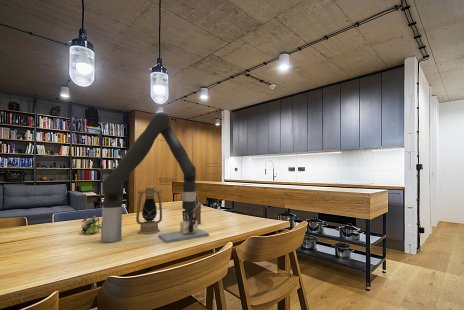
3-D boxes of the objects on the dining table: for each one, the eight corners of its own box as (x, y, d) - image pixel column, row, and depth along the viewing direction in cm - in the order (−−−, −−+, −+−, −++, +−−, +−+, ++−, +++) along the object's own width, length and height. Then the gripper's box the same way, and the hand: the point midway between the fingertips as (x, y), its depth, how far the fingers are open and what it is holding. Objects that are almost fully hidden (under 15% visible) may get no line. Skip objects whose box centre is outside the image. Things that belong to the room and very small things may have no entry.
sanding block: (183, 234, 130) (183, 223, 131) (180, 232, 135) (180, 221, 135) (197, 232, 135) (197, 221, 135) (193, 230, 139) (193, 219, 139)
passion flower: (84, 242, 141) (84, 223, 147) (105, 237, 144) (104, 218, 151) (77, 235, 132) (78, 215, 139) (99, 230, 135) (99, 210, 142)
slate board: (166, 243, 121) (166, 240, 121) (158, 237, 132) (158, 234, 132) (208, 235, 134) (208, 233, 135) (198, 231, 145) (198, 228, 145)
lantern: (135, 235, 135) (136, 181, 137) (136, 230, 147) (137, 180, 148) (162, 233, 140) (163, 181, 142) (161, 228, 151) (162, 180, 153)
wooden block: (200, 224, 163) (201, 197, 164) (185, 226, 158) (185, 198, 159) (198, 223, 166) (199, 196, 167) (183, 225, 161) (183, 197, 162)
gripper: (178, 199, 140) (177, 229, 139) (188, 201, 128) (187, 234, 127) (190, 198, 144) (189, 227, 143) (201, 200, 132) (200, 232, 131)
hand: (188, 230), depth 135 cm, fingers closed on sanding block, 5 cm apart
